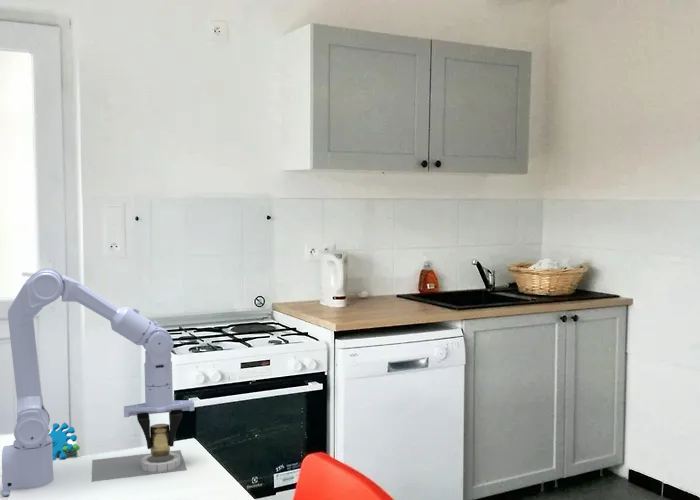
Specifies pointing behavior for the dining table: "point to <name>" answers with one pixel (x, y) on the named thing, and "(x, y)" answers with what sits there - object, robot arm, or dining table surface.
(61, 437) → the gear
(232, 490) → the dining table surface
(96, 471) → the housing plate
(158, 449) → the brass shaft
